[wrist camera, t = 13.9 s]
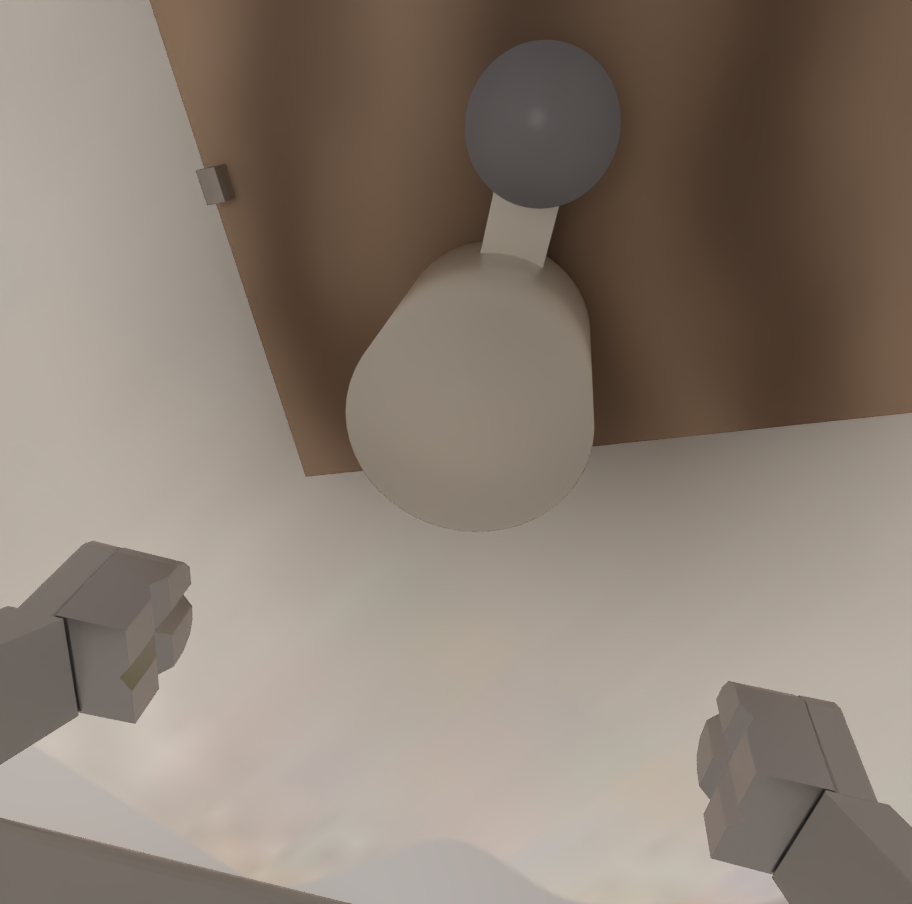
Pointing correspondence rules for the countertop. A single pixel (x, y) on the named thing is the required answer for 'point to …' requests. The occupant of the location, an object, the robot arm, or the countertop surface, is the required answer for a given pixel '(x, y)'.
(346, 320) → the wooden cutting board
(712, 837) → the robot arm
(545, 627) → the countertop surface
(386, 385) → the lever
